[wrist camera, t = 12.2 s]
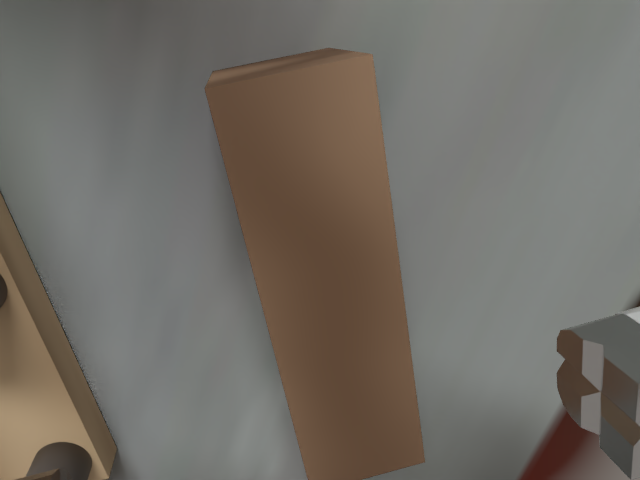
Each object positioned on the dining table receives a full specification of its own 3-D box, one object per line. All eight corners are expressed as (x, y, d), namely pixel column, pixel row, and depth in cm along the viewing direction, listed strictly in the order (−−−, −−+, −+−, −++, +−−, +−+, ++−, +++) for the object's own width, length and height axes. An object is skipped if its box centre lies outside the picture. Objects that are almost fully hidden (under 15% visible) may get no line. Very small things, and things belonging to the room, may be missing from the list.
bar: (327, 47, 13) (372, 54, 9) (378, 358, 17) (425, 461, 13) (212, 70, 13) (204, 88, 9) (291, 380, 17) (311, 493, 13)
